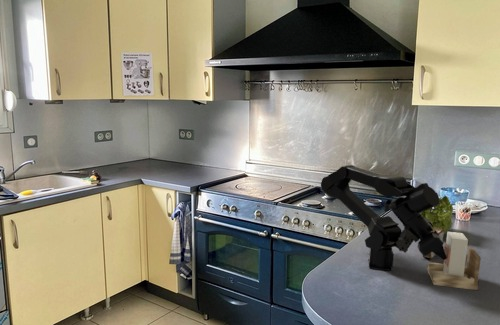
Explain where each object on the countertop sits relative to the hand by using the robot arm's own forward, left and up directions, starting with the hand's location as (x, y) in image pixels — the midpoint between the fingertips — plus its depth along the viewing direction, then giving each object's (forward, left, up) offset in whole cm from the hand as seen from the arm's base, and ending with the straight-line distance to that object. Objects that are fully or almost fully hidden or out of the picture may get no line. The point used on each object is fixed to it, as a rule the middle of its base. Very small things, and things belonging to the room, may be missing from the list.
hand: (445, 259), depth 118 cm
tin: (+1, +20, -7) cm, 21 cm away
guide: (+2, +1, -6) cm, 7 cm away
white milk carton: (+3, +1, -5) cm, 6 cm away
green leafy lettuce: (+4, +44, -7) cm, 44 cm away
